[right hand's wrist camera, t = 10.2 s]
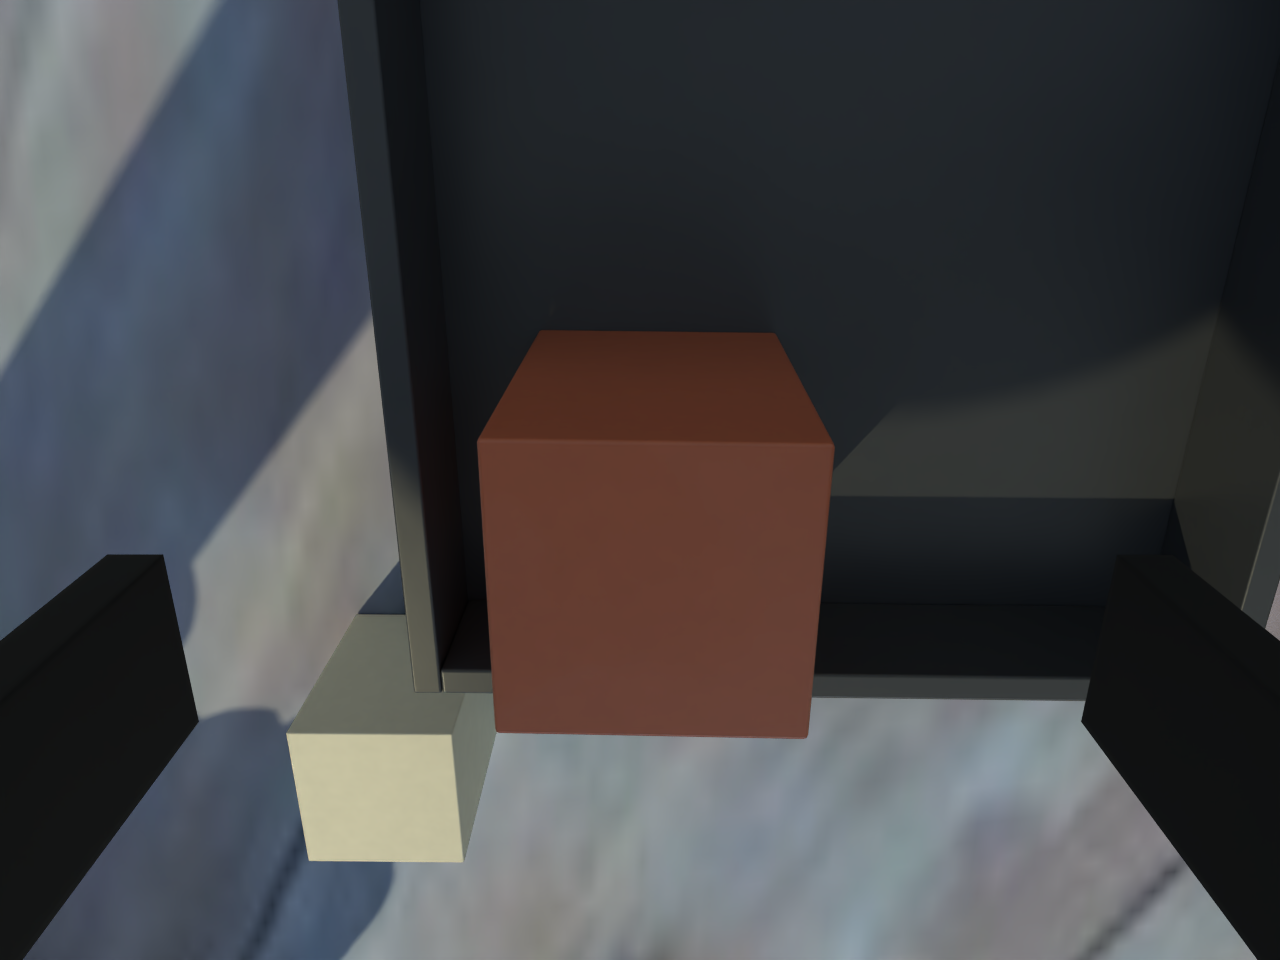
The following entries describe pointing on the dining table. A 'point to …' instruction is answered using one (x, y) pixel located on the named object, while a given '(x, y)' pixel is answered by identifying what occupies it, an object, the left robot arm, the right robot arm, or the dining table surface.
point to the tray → (855, 288)
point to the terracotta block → (654, 536)
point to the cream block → (387, 755)
